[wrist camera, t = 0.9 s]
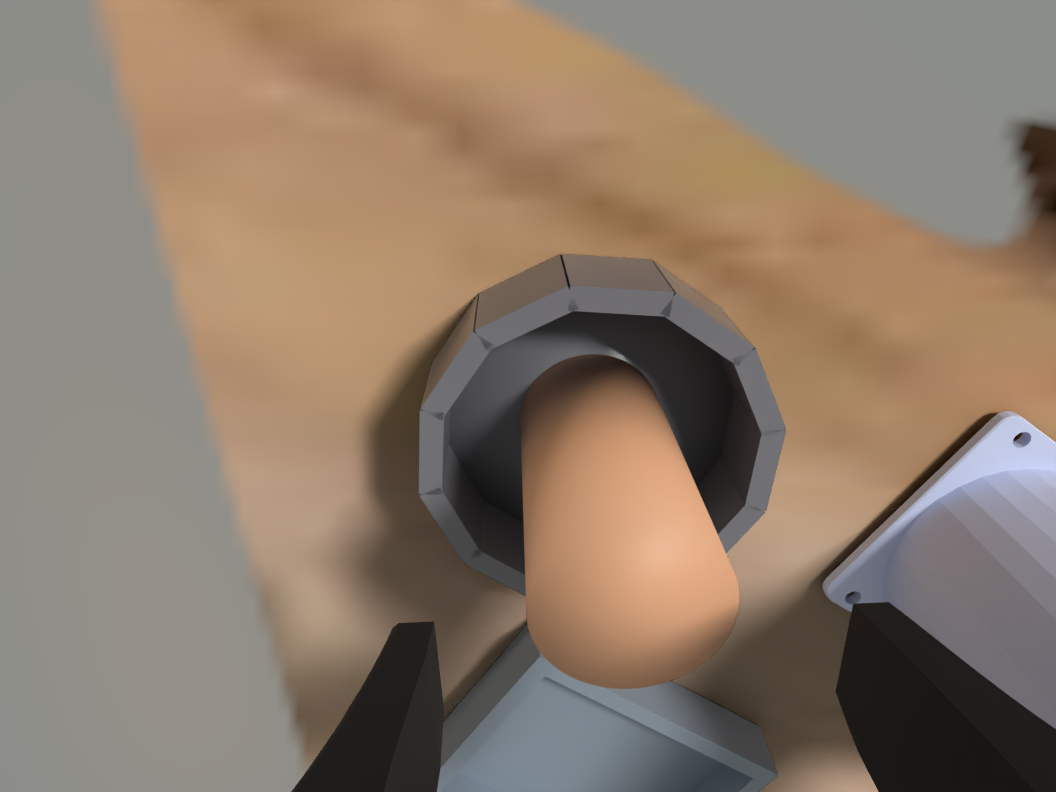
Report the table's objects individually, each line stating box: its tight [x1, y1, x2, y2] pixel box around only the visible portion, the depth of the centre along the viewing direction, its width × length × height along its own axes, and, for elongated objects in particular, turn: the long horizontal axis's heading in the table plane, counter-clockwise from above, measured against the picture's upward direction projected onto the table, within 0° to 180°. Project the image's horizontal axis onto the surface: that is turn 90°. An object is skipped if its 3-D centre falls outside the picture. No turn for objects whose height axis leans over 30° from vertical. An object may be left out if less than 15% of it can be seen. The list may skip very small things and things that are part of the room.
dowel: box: [520, 354, 739, 689], centre depth 17 cm, size 4×4×8 cm
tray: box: [437, 624, 778, 792], centre depth 26 cm, size 10×8×2 cm
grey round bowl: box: [419, 254, 786, 596], centre depth 20 cm, size 9×9×3 cm
